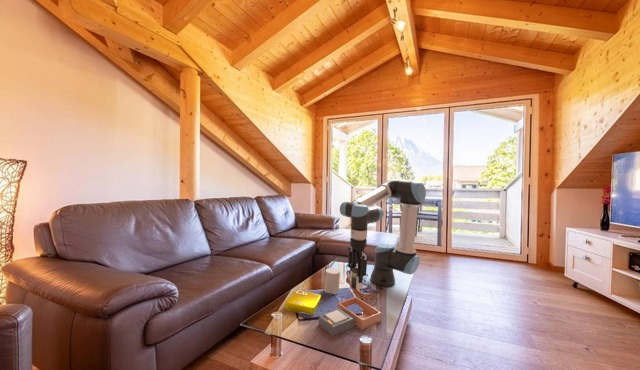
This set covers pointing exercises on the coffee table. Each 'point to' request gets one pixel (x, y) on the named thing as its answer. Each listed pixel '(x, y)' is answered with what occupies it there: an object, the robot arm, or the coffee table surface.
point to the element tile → (303, 302)
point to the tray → (368, 316)
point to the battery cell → (354, 277)
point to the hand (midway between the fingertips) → (355, 286)
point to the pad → (336, 317)
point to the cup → (332, 280)
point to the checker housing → (335, 328)
